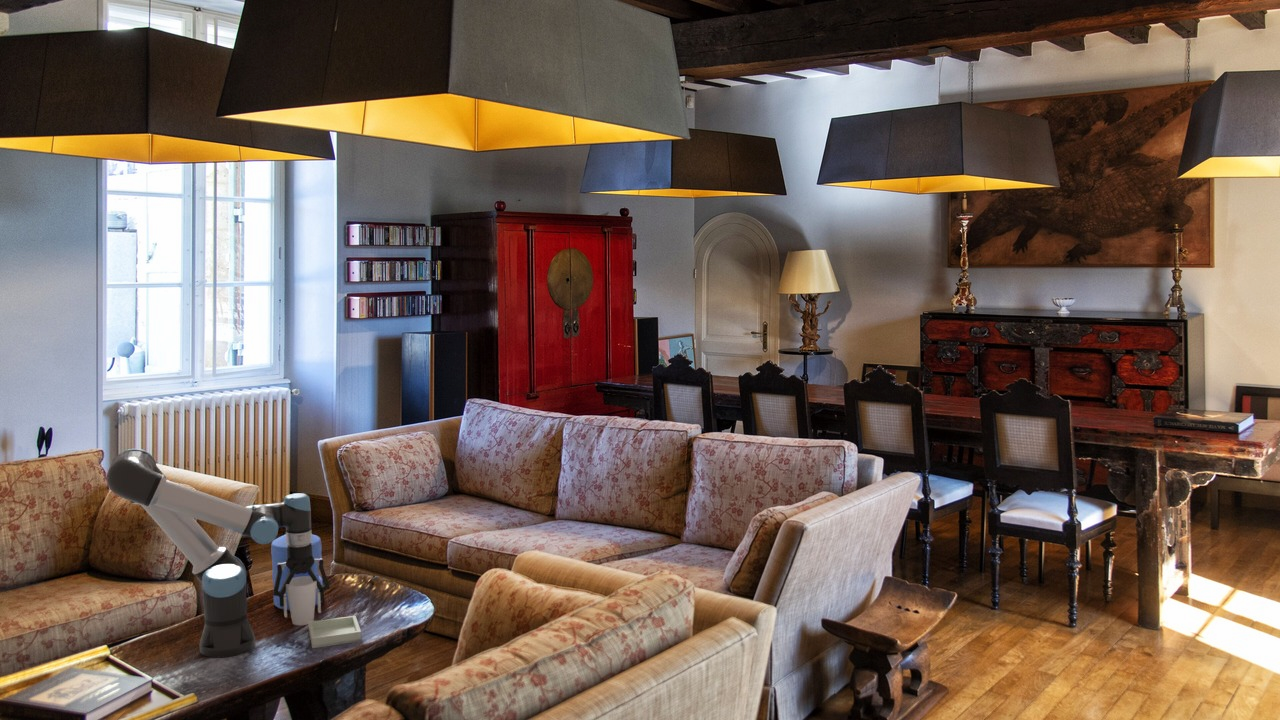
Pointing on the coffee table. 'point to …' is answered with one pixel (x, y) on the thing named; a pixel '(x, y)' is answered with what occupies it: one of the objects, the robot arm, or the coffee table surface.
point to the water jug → (281, 556)
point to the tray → (334, 631)
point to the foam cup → (302, 599)
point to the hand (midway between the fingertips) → (302, 613)
